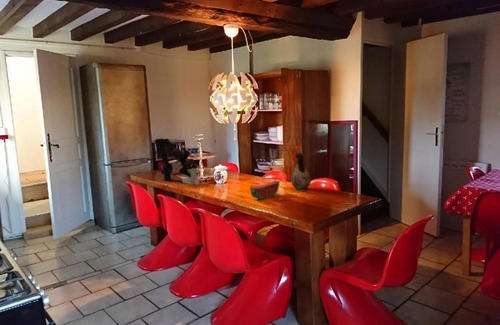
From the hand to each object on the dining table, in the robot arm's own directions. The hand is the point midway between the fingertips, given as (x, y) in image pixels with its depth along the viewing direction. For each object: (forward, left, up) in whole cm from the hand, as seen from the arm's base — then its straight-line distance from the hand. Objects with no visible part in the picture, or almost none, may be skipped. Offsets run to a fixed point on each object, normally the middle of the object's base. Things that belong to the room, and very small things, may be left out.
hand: (193, 175), depth 323 cm
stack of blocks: (-55, +22, -8) cm, 60 cm away
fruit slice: (+79, +3, -7) cm, 79 cm away
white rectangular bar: (-4, -1, -7) cm, 8 cm away
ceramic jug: (+89, +35, -7) cm, 96 cm away
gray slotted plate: (-1, 0, -7) cm, 7 cm away
